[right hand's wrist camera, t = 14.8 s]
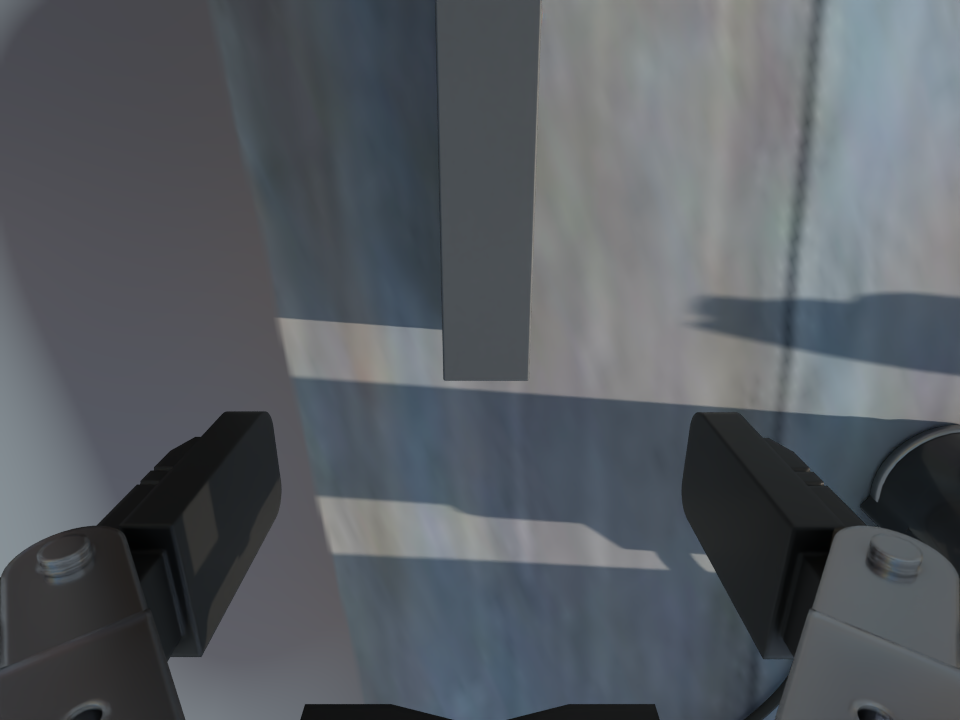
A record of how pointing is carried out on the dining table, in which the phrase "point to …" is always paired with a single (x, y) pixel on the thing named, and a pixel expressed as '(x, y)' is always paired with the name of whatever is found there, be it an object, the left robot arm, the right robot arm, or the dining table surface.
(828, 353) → the dining table surface
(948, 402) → the dining table surface
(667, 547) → the dining table surface
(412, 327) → the dining table surface
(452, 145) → the bar
